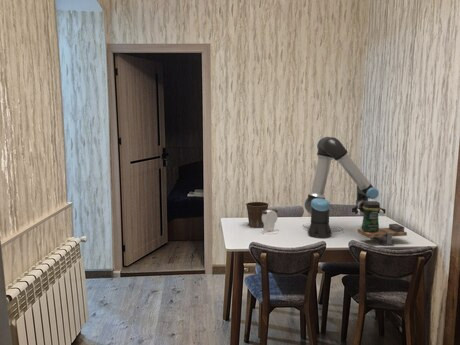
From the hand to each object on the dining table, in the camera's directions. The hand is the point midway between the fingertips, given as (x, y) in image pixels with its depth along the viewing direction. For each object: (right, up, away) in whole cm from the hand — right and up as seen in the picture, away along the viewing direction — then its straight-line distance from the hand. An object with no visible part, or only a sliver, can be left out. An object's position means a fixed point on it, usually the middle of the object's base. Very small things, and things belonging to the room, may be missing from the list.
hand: (371, 213), depth 236 cm
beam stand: (+7, -18, +2) cm, 19 cm away
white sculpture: (-60, -15, +25) cm, 67 cm away
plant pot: (-67, -14, +41) cm, 80 cm away
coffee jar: (-1, -11, 0) cm, 11 cm away
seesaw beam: (+7, -12, +2) cm, 14 cm away
